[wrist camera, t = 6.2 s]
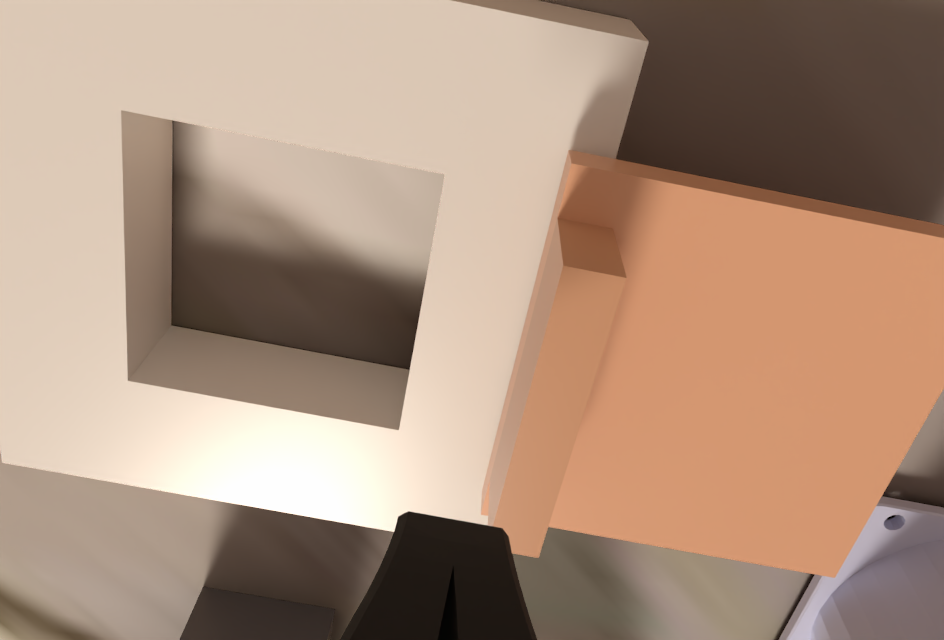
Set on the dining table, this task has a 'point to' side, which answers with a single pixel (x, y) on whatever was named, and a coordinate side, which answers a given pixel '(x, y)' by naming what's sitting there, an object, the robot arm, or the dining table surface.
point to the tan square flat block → (716, 368)
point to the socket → (305, 124)
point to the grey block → (255, 618)
